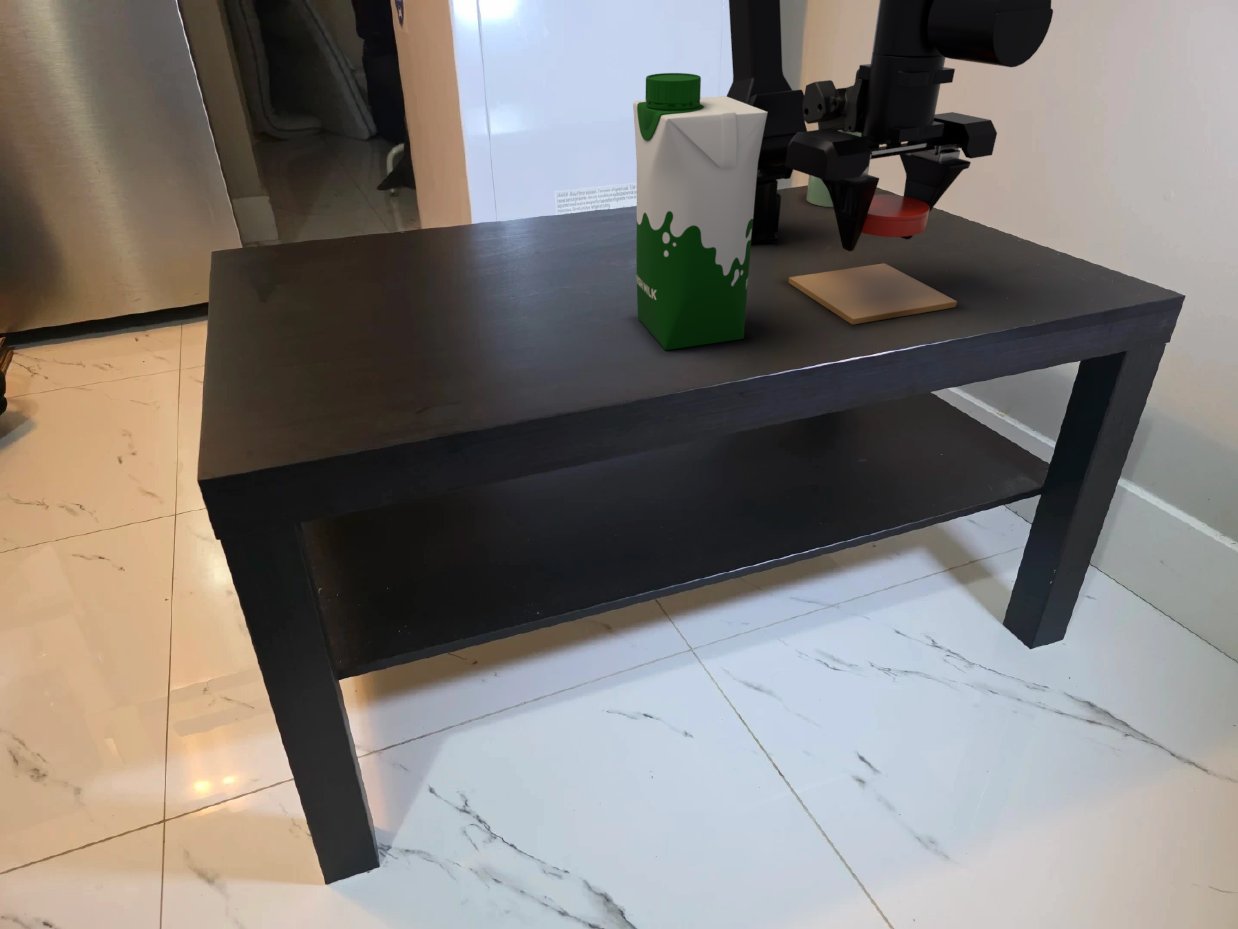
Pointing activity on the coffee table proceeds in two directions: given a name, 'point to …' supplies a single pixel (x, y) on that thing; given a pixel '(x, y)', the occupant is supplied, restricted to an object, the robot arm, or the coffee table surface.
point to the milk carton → (694, 210)
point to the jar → (820, 188)
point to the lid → (896, 216)
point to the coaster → (871, 293)
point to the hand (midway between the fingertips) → (877, 243)
